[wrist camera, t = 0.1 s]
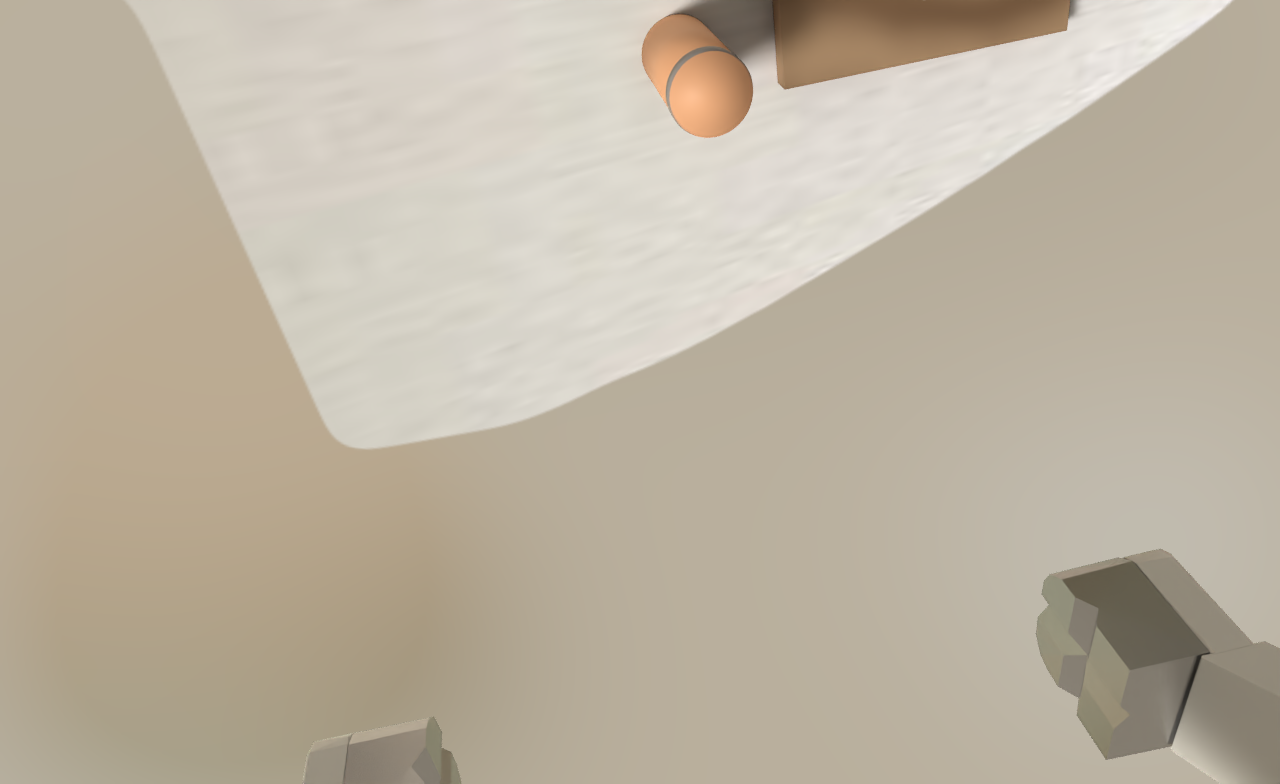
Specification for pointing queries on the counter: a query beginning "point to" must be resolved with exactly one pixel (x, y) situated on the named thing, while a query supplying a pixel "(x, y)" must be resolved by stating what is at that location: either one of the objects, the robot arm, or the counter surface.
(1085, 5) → the counter surface
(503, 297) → the counter surface
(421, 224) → the counter surface
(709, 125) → the hub peg
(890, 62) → the carrier board
